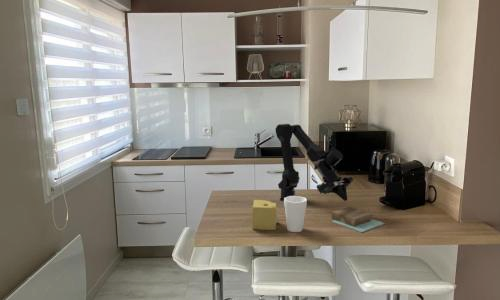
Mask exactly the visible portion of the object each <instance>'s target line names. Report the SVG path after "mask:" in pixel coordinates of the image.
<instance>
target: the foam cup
mask: <svg viewBox="0 0 500 300" xmlns="http://www.w3.org/2000/svg"><path fill="white" fill-rule="evenodd" d="M307 202H308V199H307V198H306V197H304V196H298V195H295V196H289V197H285V198H284V201H283V206H284V211H285V219H286V220H285V221H286V229H287V231H288V232H292V233H299V232H300V233H301V232H302V231H303V229H304V222H305V216H306V215H305V214H306V210H307V207H308V203H307Z"/></svg>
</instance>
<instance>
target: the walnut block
mask: <svg viewBox="0 0 500 300" xmlns="http://www.w3.org/2000/svg"><path fill="white" fill-rule="evenodd" d="M331 213H332V214H331V219H332V221H333V220H336V221H339V222H342V223H345V224H347V225H350V226H353V227H356V226H358V225H361V224H364V223H366V222H369V221H371V219H372V215H373V213H372V212H369V211H366V210H362V209H359V208H356V207H352V206H347V207H343V208H340V209H337V210H334V211H332V212H331Z"/></svg>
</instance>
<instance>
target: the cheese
mask: <svg viewBox="0 0 500 300" xmlns="http://www.w3.org/2000/svg"><path fill="white" fill-rule="evenodd" d="M251 209H252V211H251V213H252V214H251V216H252V218H251V220H252V223H251V224H252V225H251V226H252V230H264V231H265V230H266V231H269V230H270V231H276V229H277V228H276V227H277V223H278V222H277V221H278V214H277V209H278V207H277V202H272V201H270V200H265V199H264V200H263V199H253V204H252V208H251Z"/></svg>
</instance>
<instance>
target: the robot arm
mask: <svg viewBox="0 0 500 300" xmlns="http://www.w3.org/2000/svg"><path fill="white" fill-rule="evenodd" d="M275 135H276V137H277V139H278V141H280V147H281V156H282V163H283V171H282V175H281V180H280V181H279V183H278V184H277V186H278V189H280V198H279V201H283V202H284V198H285V197H289V196H296V191H295V188H297V186H298V184H299V183H300V175H299V174H300V173H299V171H298V170H296V169H295V167H294V160H293V159H294V158H293V151H292V143H291V140H292V137H293V136H295V138H296V139H297V141H298V142H299V143H300V144H301V145H302V146H303V148H304V149H305V151H306V152H305V153H306V155H307V157H308V160H310V162H312V163H315V164H314V170H319V172H320V173H321V175H322V181H323V182H321V183H320V184H319V183H318V184H317V185H316V189H317V191H318V192H319V193H320V194H324V195H326V194H330V193H333V194H335V195H337V196H338V197H339V198H341V199H342V201H344V202H347V201H348V194H347V187H348V186H350V185H351V184H352V183H353V182H354V178H353V177H352V176H351V175H349V176H344V177H343V178H342V176H339V175H338V173H337V172H338V170H337V169H334V168H333V167H335V166H336V165H337V164H339V162H340V161H341V160H343V158H344V155H343V153H342V152H341V151H340V150H338V149H336V148H335V147H331V148H329V150H328V151H325V150H324V148H323V147H321V146H320V145H318V144H316V143H314V141H313V140H312V139H311V138H310V137H309V135H308V134H307V133H306V132H305V131H304V129H303V128H302V126H301V125H300V124H292V125H291V124H289V123H282V124H277V126H276V127H275ZM316 162H318V163H316Z"/></svg>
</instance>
